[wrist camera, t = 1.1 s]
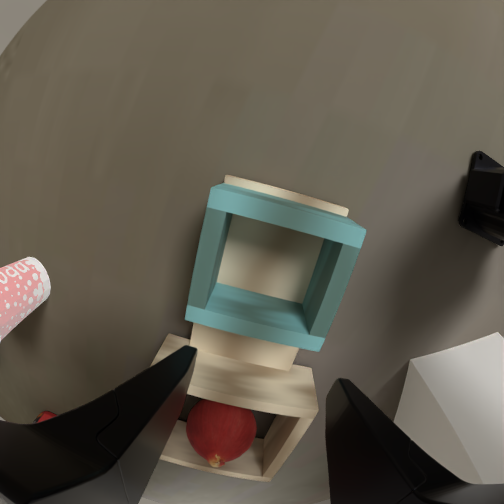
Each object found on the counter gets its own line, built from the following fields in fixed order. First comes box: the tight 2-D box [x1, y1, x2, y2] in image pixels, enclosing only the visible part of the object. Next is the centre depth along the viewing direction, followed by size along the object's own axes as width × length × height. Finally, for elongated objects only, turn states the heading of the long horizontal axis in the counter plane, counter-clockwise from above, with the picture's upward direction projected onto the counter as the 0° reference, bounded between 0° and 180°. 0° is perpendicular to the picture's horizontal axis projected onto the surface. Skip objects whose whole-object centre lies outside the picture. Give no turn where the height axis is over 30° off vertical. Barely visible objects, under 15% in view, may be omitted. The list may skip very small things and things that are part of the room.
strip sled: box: [150, 175, 367, 482], centre depth 20 cm, size 12×25×5 cm, turn 166°
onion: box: [186, 398, 257, 468], centre depth 20 cm, size 6×6×8 cm
